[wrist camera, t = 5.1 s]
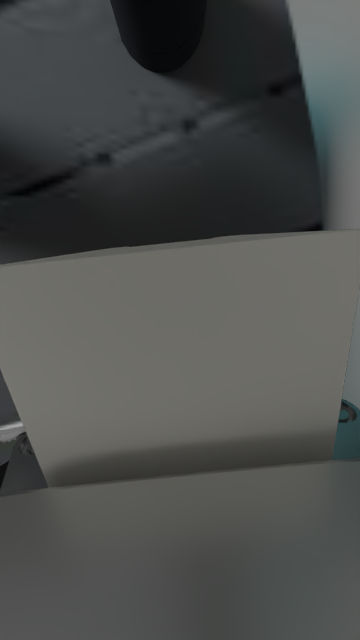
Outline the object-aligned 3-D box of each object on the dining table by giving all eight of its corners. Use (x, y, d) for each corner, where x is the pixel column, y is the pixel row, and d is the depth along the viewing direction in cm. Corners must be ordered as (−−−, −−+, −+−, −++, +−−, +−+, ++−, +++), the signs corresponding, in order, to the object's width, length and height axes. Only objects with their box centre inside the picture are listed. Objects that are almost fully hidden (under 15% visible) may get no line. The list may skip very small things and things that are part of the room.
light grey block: (106, 248, 11) (-40, 271, 3) (233, 235, 11) (368, 228, 3) (147, 457, 15) (122, 668, 8) (237, 447, 15) (301, 651, 8)
